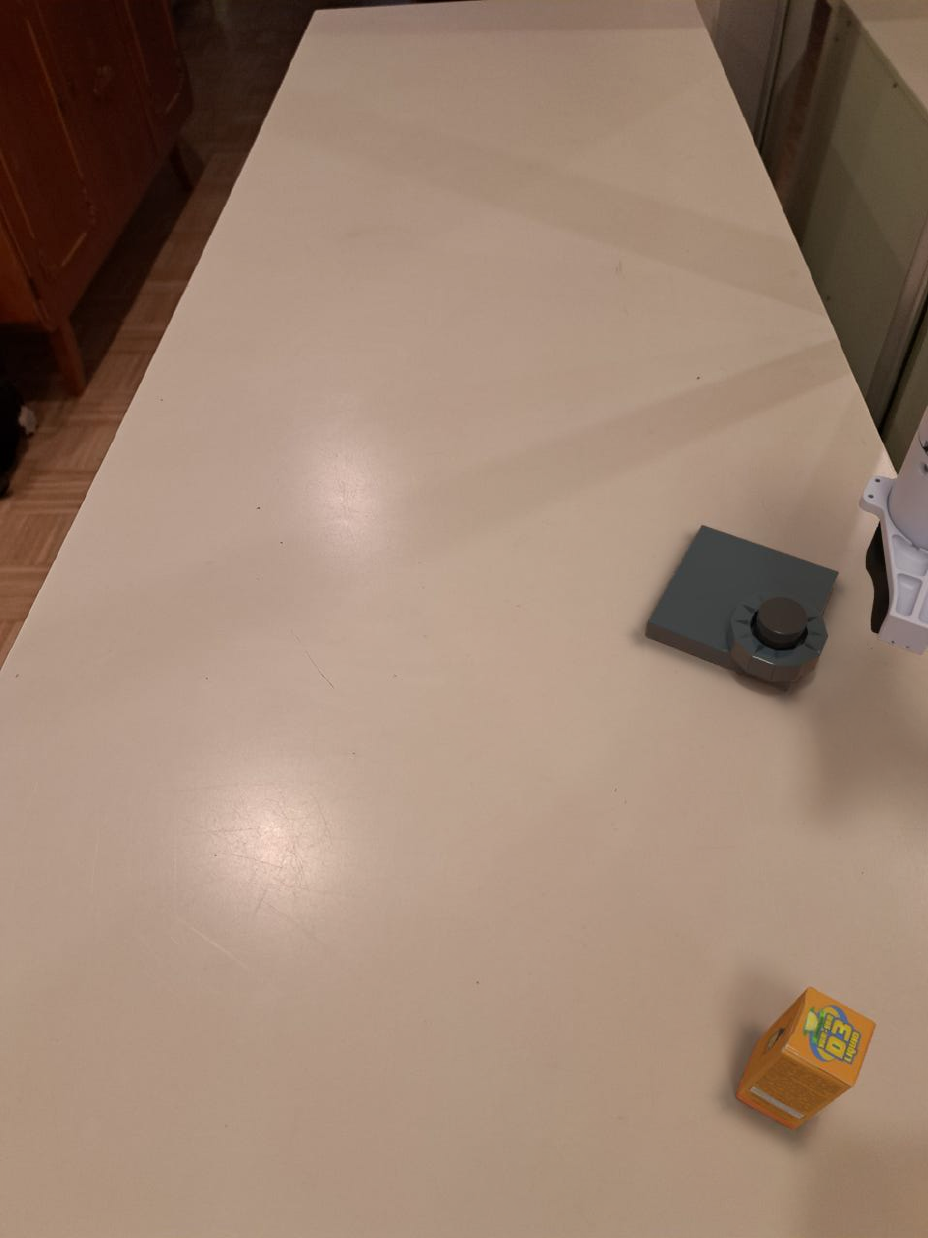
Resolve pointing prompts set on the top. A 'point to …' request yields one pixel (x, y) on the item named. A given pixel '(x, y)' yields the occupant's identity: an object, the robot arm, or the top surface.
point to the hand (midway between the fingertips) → (892, 629)
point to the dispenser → (741, 606)
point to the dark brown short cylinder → (780, 623)
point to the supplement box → (806, 1059)
